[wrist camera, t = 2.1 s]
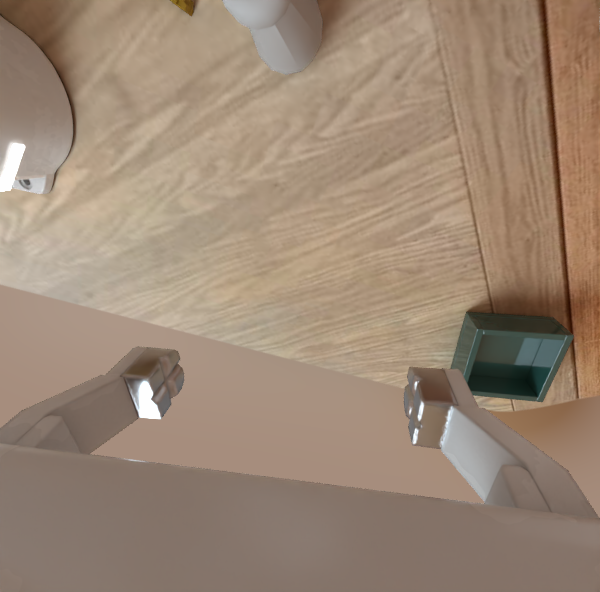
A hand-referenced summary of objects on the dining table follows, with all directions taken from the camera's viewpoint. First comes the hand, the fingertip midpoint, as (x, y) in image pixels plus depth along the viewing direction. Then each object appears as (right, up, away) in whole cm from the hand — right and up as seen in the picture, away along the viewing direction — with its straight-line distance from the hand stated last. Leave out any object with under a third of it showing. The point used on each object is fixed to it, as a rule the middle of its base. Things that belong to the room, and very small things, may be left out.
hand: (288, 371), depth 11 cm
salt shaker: (0, +26, +17) cm, 30 cm away
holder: (+25, -4, +27) cm, 37 cm away
